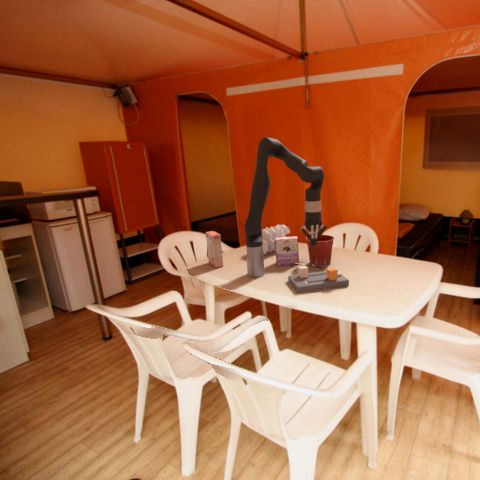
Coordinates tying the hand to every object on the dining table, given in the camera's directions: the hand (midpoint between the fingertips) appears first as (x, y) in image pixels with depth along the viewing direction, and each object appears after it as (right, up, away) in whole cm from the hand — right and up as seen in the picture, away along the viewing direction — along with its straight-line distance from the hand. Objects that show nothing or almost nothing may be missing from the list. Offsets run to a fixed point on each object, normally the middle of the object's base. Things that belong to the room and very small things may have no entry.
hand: (313, 245), depth 158 cm
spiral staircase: (-14, -6, +71) cm, 73 cm away
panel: (+4, -20, +10) cm, 22 cm away
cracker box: (-51, -13, +52) cm, 74 cm away
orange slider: (+11, -17, +6) cm, 21 cm away
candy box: (-6, -12, +44) cm, 46 cm away
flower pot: (+13, -12, +38) cm, 42 cm away
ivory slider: (-3, -16, +12) cm, 20 cm away
